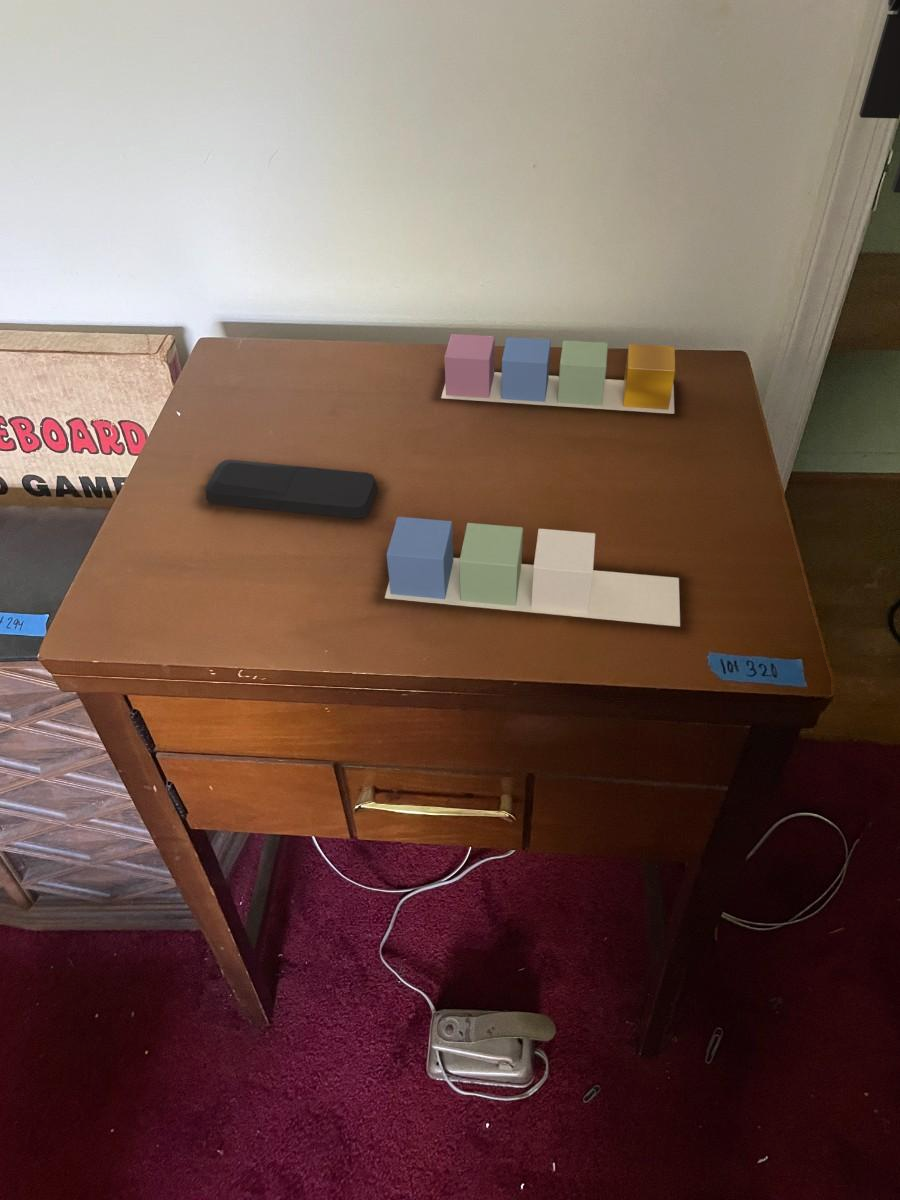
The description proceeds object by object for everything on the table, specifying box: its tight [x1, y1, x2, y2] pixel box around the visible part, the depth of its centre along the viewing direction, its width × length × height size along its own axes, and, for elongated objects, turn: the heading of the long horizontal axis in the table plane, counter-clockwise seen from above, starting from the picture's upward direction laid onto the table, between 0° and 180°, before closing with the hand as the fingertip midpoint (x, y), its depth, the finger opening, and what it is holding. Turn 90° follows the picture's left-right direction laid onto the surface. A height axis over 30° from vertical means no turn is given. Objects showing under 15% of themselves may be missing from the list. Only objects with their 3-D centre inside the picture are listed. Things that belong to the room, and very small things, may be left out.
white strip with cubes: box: [384, 516, 681, 627], centre depth 70 cm, size 23×5×4 cm, turn 81°
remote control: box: [205, 459, 378, 520], centre depth 80 cm, size 5×2×15 cm
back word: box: [440, 333, 675, 415], centre depth 89 cm, size 23×5×4 cm, turn 81°
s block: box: [623, 343, 676, 409], centre depth 88 cm, size 4×4×4 cm
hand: (895, 151), depth 63 cm, fingers open, 13 cm apart
